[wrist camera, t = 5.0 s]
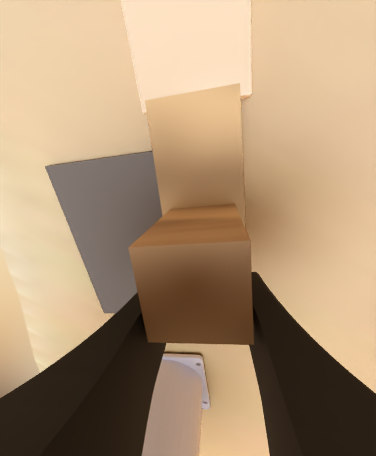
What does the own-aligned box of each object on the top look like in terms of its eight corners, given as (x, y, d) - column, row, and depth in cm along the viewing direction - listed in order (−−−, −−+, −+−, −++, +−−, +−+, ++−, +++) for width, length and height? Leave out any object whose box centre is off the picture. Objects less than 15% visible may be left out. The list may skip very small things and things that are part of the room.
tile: (251, 94, 11) (249, -117, 8) (142, 113, 12) (107, -69, 9) (247, 99, 12) (244, -75, 10) (151, 115, 13) (123, -39, 11)
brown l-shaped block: (244, 258, 13) (271, 352, 6) (175, 261, 13) (135, 348, 7) (237, 92, 10) (268, -29, 4) (152, 107, 11) (60, 26, 5)
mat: (195, 309, 19) (195, 312, 19) (106, 310, 21) (104, 313, 20) (169, 148, 13) (168, 149, 13) (49, 165, 15) (45, 166, 15)
